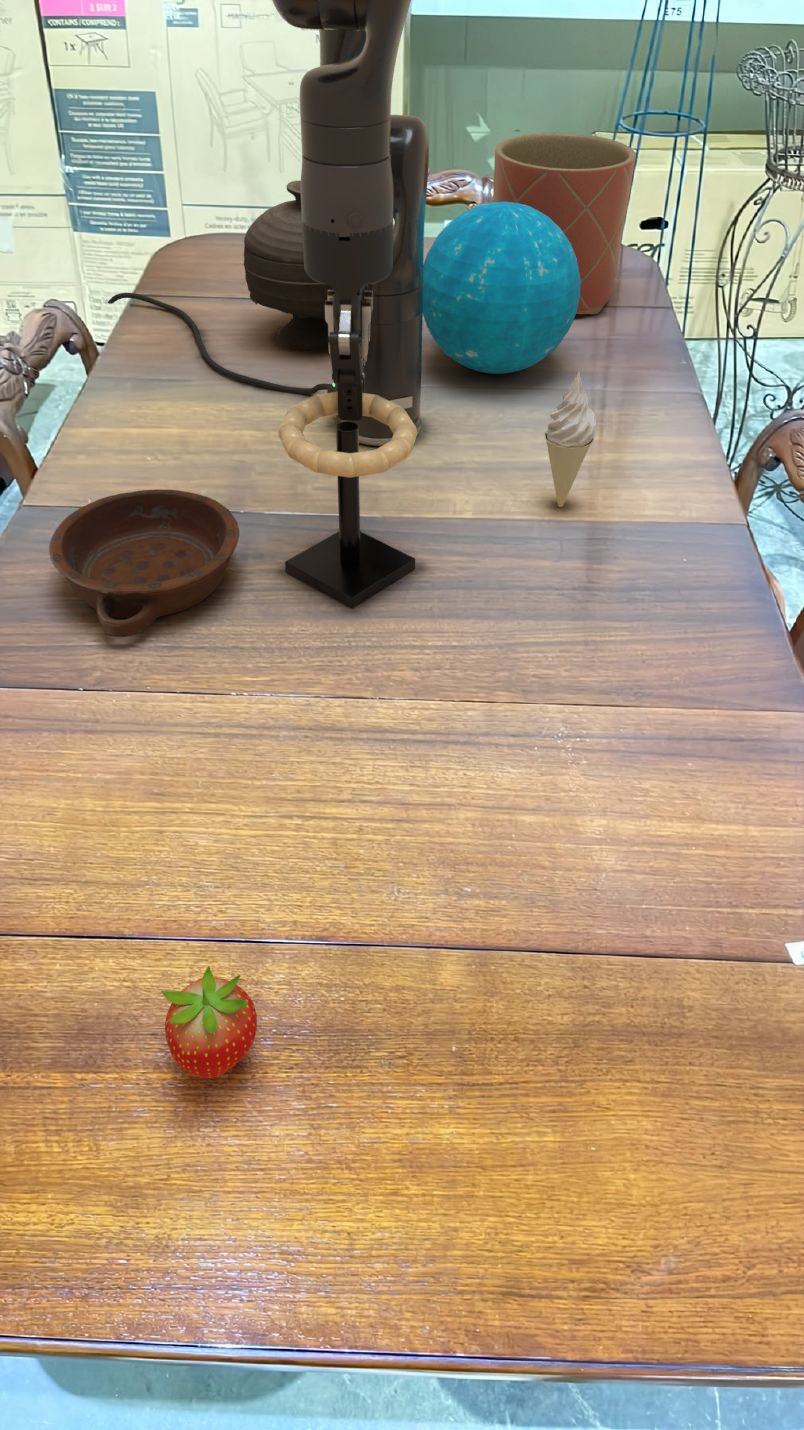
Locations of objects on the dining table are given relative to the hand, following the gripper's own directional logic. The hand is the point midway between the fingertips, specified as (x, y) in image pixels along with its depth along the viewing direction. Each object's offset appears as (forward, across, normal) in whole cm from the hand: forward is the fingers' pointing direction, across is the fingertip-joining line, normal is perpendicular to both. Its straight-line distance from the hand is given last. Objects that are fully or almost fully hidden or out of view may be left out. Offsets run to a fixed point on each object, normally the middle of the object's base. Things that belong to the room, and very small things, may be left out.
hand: (351, 411), depth 100 cm
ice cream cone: (+14, -8, +21) cm, 27 cm away
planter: (+14, -68, +24) cm, 74 cm away
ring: (0, +5, 0) cm, 5 cm away
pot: (+14, -52, -9) cm, 54 cm away
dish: (+14, +8, -19) cm, 25 cm away
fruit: (+14, +59, -4) cm, 61 cm away
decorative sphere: (+14, -43, +15) cm, 48 cm away
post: (+14, +5, 0) cm, 15 cm away
